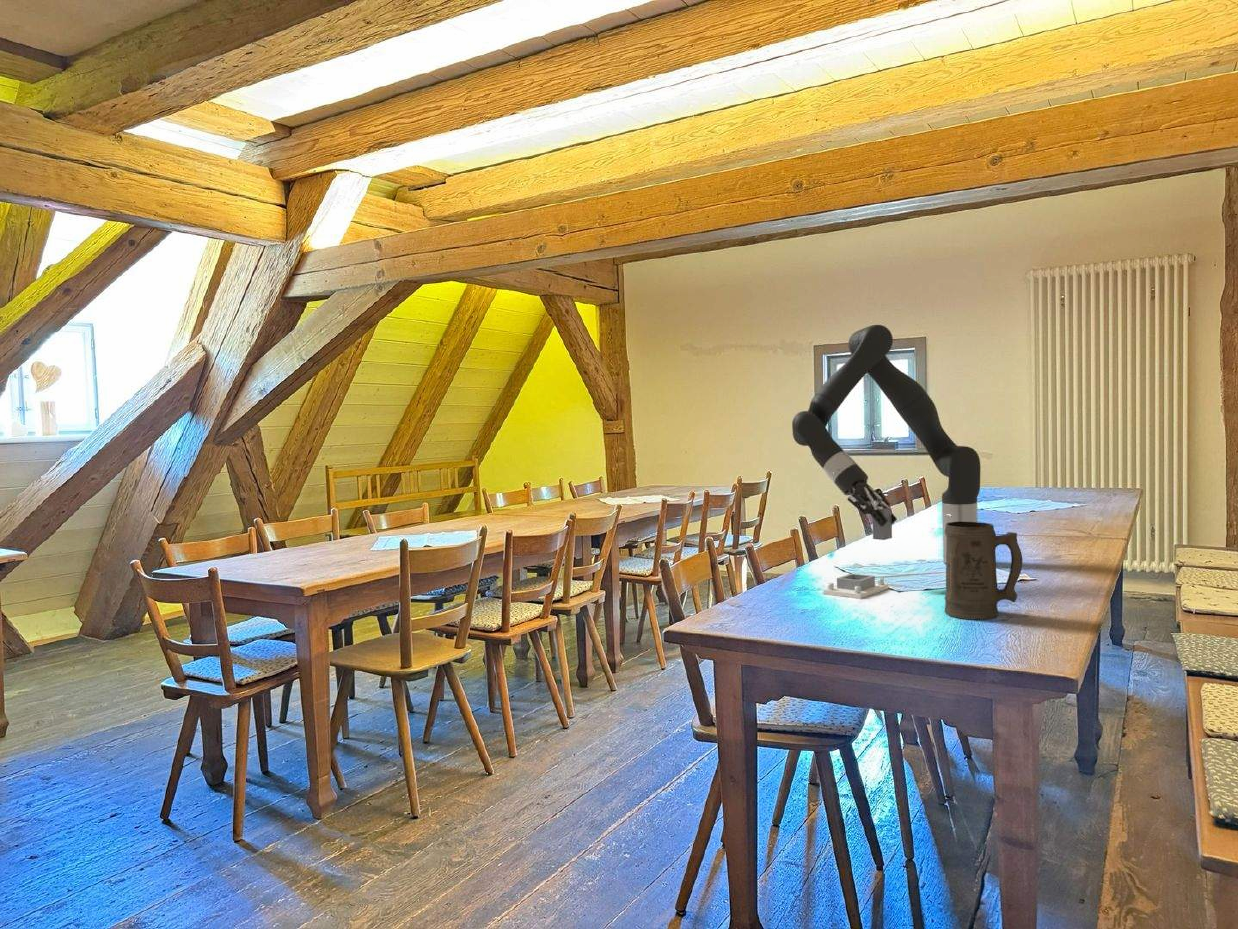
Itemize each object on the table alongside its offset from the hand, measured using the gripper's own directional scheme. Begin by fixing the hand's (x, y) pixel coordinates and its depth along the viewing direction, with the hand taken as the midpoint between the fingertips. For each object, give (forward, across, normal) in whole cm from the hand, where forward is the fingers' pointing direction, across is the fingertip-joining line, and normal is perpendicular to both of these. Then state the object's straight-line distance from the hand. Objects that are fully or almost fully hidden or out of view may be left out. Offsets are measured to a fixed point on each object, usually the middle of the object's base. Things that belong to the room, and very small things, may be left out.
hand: (889, 522), depth 209 cm
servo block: (+2, 0, +4) cm, 5 cm away
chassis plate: (+8, -7, +16) cm, 19 cm away
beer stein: (+32, -13, -8) cm, 35 cm away
